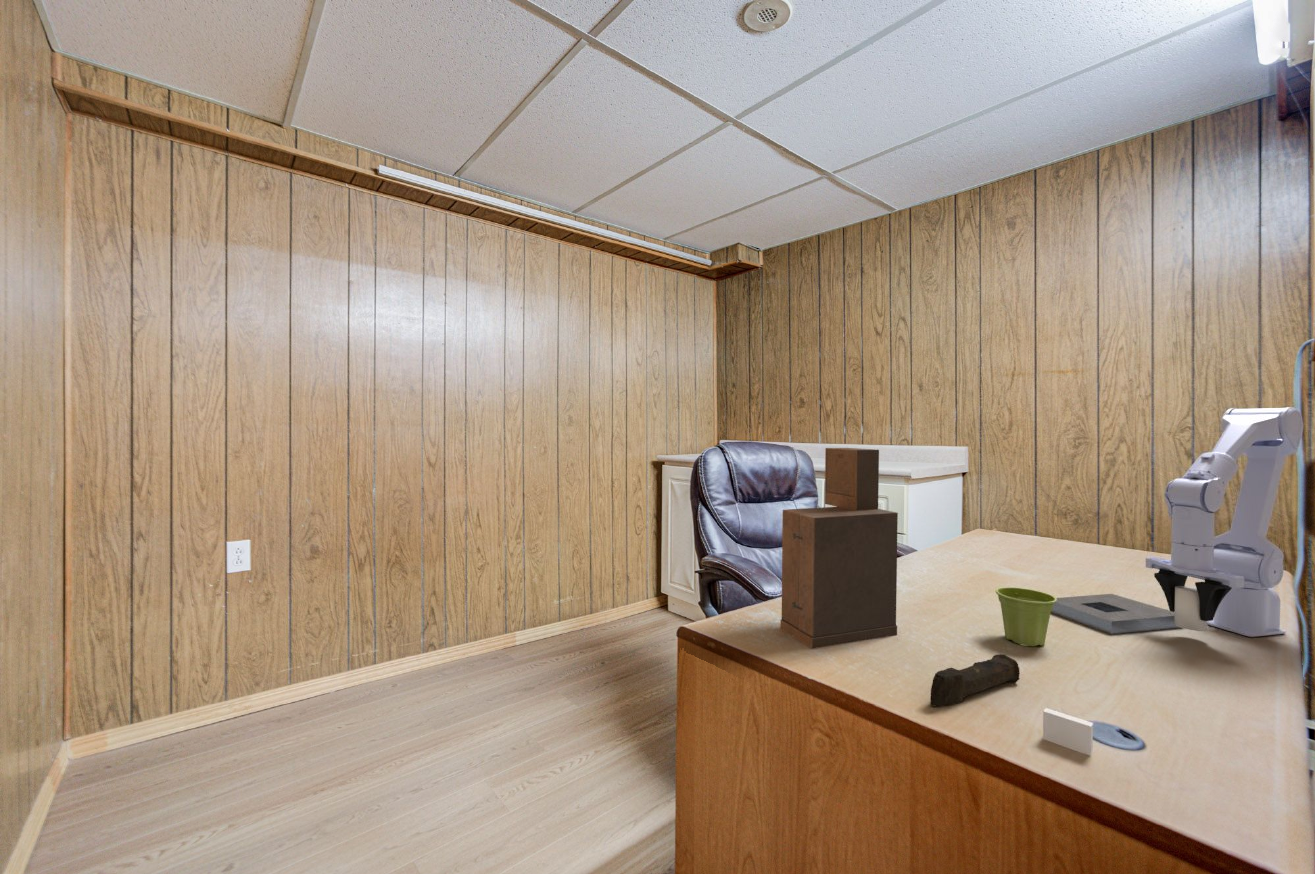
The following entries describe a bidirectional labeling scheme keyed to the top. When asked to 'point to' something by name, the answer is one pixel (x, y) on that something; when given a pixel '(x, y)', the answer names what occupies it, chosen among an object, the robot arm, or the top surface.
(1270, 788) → the top surface
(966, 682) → the dark brown ridged bar
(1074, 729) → the eraser
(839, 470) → the stacked wooden boxes
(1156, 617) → the plate
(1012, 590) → the plant pot
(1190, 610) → the white rounded cylinder
